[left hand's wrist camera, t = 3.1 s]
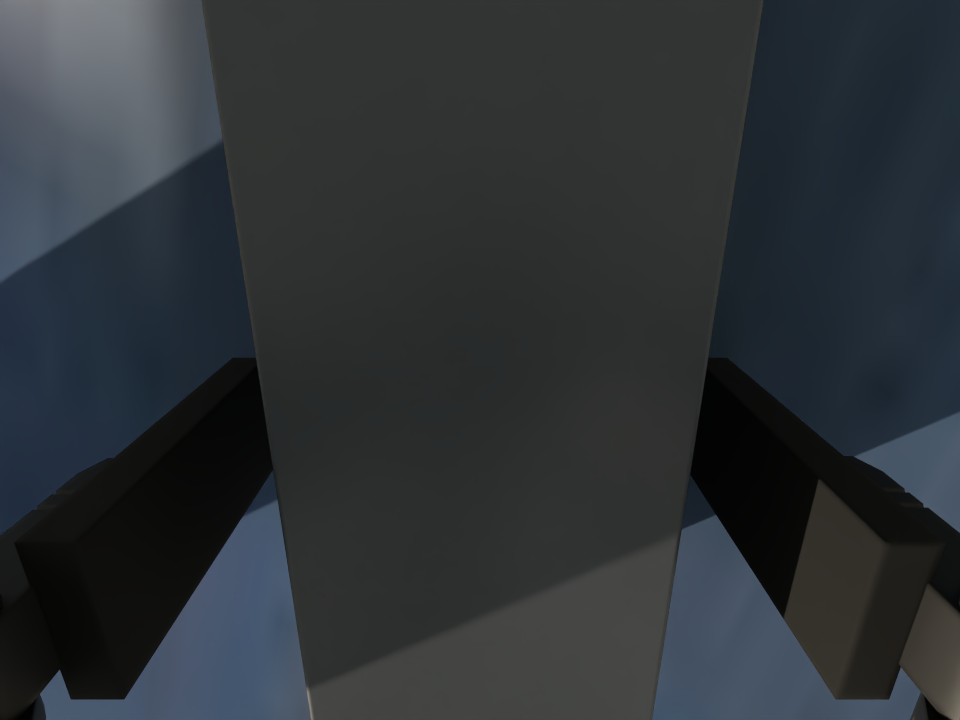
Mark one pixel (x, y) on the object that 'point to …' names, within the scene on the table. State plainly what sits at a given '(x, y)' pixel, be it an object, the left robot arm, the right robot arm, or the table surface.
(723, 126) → the bar
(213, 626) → the table surface
